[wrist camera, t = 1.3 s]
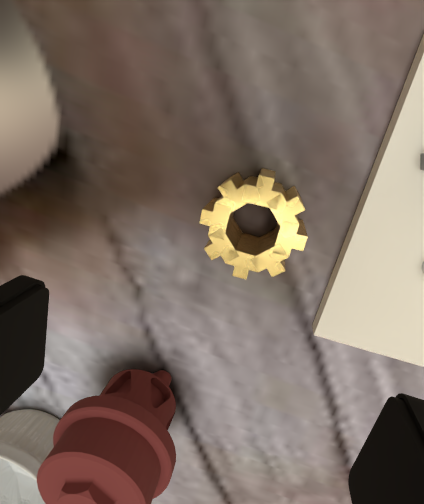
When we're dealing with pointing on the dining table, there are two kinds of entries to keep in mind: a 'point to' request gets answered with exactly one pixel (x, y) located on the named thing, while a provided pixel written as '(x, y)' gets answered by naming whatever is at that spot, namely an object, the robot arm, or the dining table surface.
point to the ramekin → (24, 454)
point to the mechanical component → (113, 444)
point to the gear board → (385, 244)
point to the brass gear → (248, 246)
